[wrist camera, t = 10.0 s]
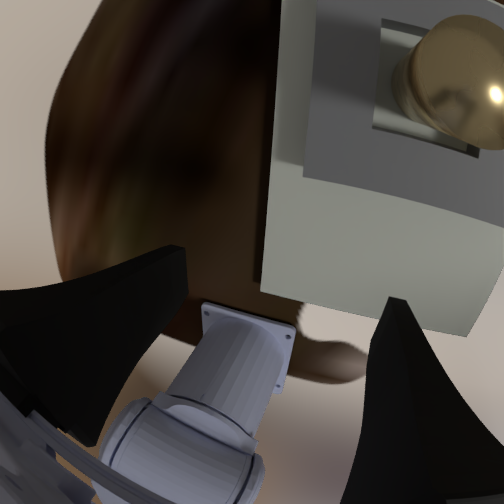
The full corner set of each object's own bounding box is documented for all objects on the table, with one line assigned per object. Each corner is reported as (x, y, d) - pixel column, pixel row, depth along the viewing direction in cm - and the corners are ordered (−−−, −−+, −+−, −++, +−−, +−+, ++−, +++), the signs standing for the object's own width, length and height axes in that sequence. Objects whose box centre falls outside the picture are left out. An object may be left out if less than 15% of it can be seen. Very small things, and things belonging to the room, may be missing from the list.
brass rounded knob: (457, 134, 12) (529, 166, 6) (387, 116, 13) (415, 129, 7) (463, 64, 10) (538, 45, 4) (392, 45, 11) (421, -3, 5)
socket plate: (464, 329, 18) (470, 356, 16) (263, 284, 22) (250, 308, 20) (541, 31, 7) (563, 26, 4) (287, -38, 11) (273, -57, 9)
